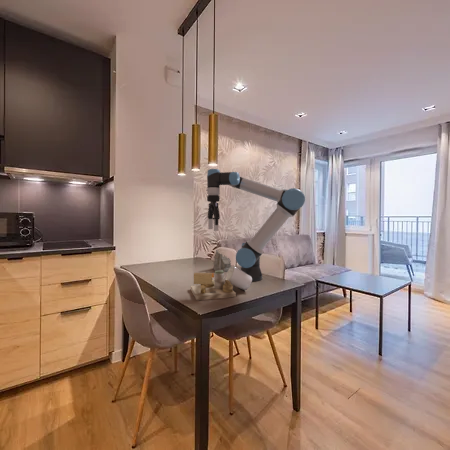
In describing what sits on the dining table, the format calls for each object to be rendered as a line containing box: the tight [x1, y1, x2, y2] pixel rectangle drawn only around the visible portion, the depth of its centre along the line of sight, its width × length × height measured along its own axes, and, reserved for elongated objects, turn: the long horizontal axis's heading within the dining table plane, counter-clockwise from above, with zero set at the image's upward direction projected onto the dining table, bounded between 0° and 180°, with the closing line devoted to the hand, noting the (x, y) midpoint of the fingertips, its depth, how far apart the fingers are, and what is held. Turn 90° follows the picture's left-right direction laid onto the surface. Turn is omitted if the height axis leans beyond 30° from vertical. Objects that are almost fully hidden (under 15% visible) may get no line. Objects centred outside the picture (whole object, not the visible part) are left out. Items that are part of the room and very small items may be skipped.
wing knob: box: [193, 272, 215, 293], centre depth 127 cm, size 3×10×10 cm, turn 88°
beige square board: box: [190, 270, 237, 301], centre depth 134 cm, size 20×18×11 cm
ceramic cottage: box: [213, 249, 232, 273], centre depth 189 cm, size 16×16×15 cm
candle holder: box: [224, 265, 253, 291], centre depth 138 cm, size 10×10×12 cm
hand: (213, 230), depth 155 cm, fingers open, 13 cm apart
